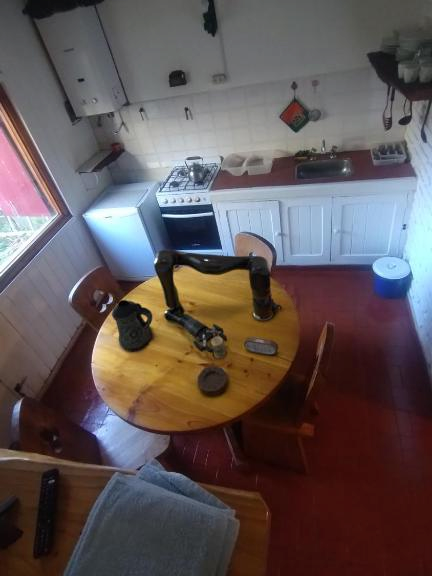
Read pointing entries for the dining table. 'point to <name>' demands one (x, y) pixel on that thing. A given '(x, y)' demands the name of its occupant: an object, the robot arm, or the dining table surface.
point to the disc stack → (218, 347)
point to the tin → (261, 345)
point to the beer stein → (132, 325)
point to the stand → (212, 381)
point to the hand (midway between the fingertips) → (219, 345)
